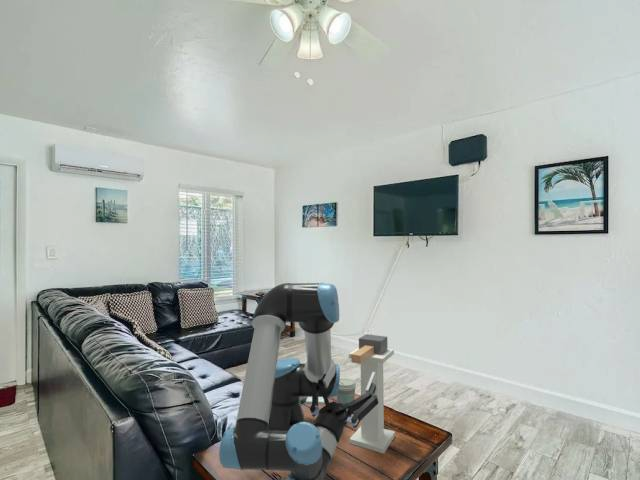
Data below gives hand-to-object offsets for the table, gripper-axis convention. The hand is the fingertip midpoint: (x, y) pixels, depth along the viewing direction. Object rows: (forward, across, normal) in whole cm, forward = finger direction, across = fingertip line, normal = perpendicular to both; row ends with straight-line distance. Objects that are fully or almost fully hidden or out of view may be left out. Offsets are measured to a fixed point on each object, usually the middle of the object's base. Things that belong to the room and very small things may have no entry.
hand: (353, 371), depth 103 cm
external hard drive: (+17, -34, -44) cm, 58 cm away
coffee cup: (+12, -17, -40) cm, 45 cm away
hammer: (+11, 0, -5) cm, 12 cm away
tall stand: (0, 0, -33) cm, 33 cm away
